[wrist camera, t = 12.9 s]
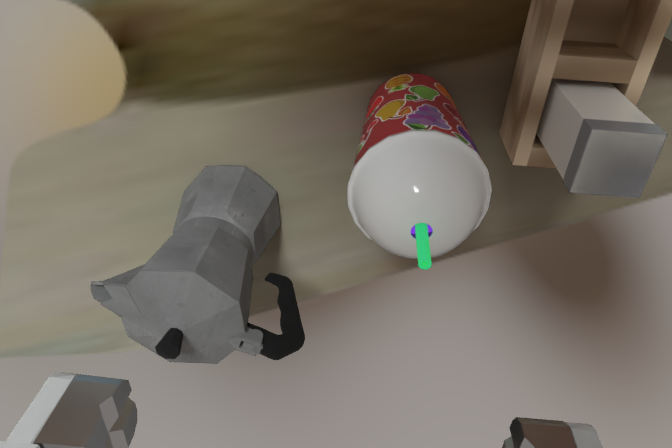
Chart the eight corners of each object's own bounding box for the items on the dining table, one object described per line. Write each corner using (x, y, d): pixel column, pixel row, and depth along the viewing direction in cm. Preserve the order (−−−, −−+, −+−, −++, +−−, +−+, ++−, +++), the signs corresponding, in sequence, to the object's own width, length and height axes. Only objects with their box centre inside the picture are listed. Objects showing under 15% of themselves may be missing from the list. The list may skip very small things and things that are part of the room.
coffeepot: (156, 220, 50) (59, 367, 35) (173, 137, 45) (68, 269, 30) (306, 271, 52) (275, 430, 37) (339, 197, 47) (318, 348, 32)
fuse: (541, 66, 37) (591, 128, 28) (598, 70, 37) (667, 134, 28) (527, 119, 40) (569, 192, 31) (581, 123, 39) (639, 198, 30)
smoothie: (357, 155, 44) (341, 323, 28) (357, 57, 40) (336, 188, 23) (456, 156, 43) (500, 329, 27) (467, 56, 39) (528, 191, 22)
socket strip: (579, -197, 30) (613, -210, 26) (701, -191, 30) (758, -203, 25) (498, 133, 42) (512, 165, 38) (585, 140, 42) (610, 172, 37)
